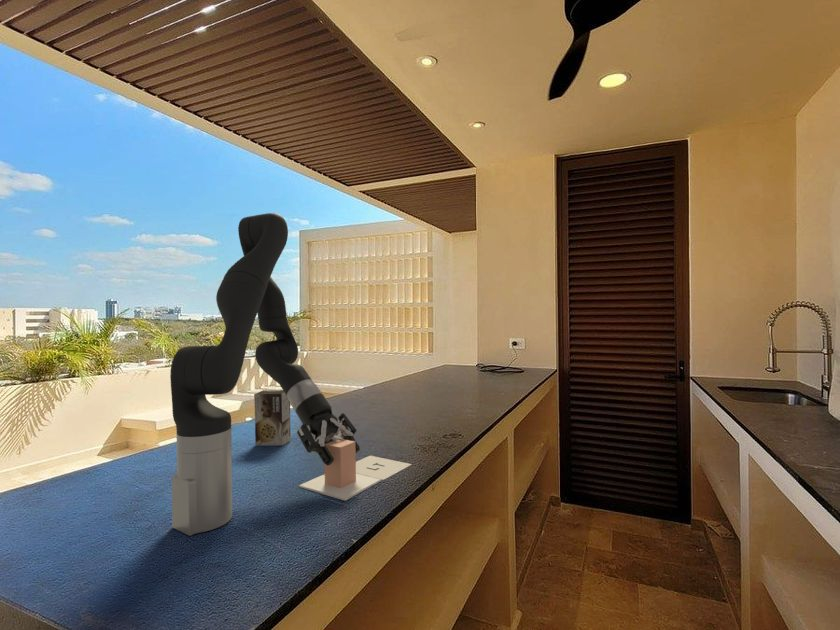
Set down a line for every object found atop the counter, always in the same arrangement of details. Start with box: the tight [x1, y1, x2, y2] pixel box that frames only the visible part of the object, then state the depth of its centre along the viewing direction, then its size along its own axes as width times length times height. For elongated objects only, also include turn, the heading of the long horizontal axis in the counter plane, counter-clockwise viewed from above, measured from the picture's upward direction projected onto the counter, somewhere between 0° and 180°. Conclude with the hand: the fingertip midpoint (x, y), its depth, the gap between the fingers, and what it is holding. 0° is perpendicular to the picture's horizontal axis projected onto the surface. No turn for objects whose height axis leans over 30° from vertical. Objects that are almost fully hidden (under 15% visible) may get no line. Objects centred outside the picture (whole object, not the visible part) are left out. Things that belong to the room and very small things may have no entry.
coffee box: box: [253, 389, 292, 447], centre depth 129 cm, size 9×6×16 cm
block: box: [323, 438, 357, 488], centre depth 94 cm, size 5×5×9 cm
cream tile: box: [356, 455, 413, 481], centre depth 105 cm, size 12×14×1 cm
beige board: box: [298, 473, 382, 501], centre depth 94 cm, size 12×14×1 cm
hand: (344, 457), depth 94 cm, fingers open, 8 cm apart
